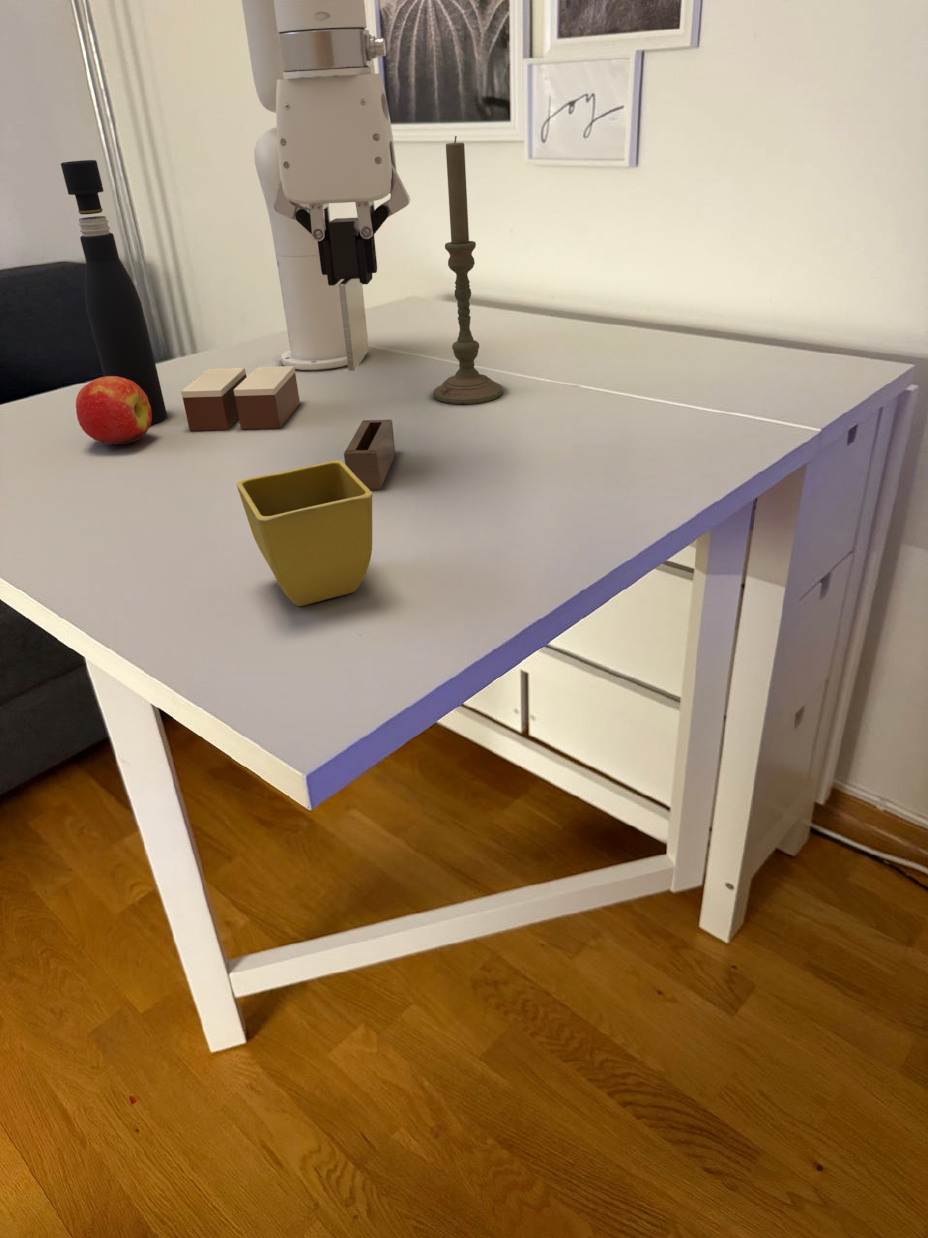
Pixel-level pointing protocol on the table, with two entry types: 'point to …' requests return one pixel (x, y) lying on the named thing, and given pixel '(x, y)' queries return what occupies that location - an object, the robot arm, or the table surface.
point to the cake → (213, 399)
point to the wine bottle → (112, 293)
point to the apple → (113, 410)
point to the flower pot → (311, 529)
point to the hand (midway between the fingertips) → (350, 280)
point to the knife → (349, 287)
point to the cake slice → (267, 397)
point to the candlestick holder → (462, 293)
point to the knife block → (371, 452)
